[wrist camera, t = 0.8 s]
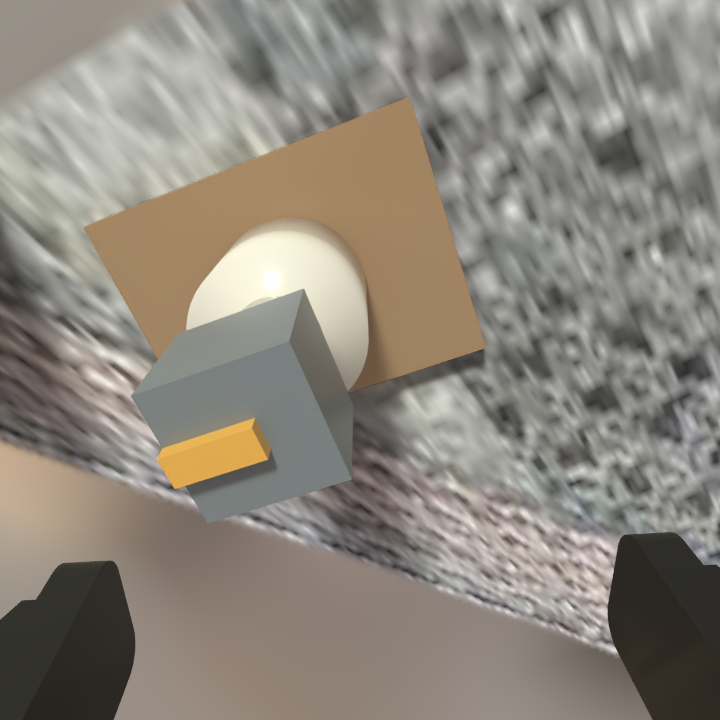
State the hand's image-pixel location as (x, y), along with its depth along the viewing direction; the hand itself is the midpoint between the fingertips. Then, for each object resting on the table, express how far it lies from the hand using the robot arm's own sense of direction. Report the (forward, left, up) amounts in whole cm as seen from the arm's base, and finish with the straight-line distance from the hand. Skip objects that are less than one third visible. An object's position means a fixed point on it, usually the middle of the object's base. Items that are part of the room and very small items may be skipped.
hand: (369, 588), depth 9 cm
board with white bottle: (+4, +1, -25) cm, 25 cm away
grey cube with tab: (+4, +1, -14) cm, 14 cm away
